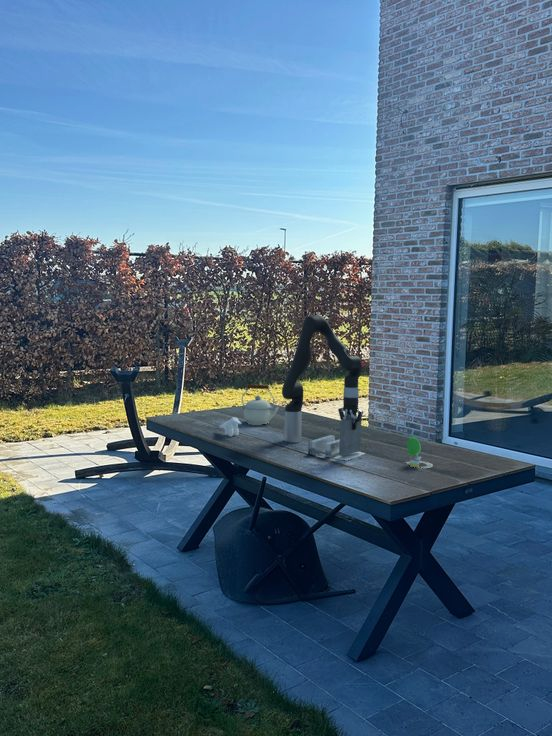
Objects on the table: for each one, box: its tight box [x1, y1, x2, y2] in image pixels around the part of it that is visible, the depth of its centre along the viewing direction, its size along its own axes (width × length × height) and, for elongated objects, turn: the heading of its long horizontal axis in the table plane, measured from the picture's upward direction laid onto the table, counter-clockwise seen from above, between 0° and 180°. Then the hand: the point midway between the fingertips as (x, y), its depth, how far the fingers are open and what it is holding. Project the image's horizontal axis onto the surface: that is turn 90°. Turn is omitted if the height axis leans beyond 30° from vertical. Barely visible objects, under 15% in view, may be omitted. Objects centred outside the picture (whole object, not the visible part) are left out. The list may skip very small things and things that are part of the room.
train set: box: [405, 436, 434, 469], centre depth 303 cm, size 15×14×14 cm
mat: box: [333, 451, 367, 462], centre depth 319 cm, size 8×18×1 cm, turn 142°
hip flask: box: [338, 414, 362, 456], centre depth 318 cm, size 16×4×20 cm, turn 136°
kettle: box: [241, 384, 280, 426], centre depth 401 cm, size 25×18×25 cm
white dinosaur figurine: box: [218, 416, 242, 438], centre depth 367 cm, size 7×24×11 cm, turn 39°
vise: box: [307, 434, 340, 459], centre depth 326 cm, size 14×19×7 cm
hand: (350, 429), depth 318 cm, fingers closed on hip flask, 4 cm apart
